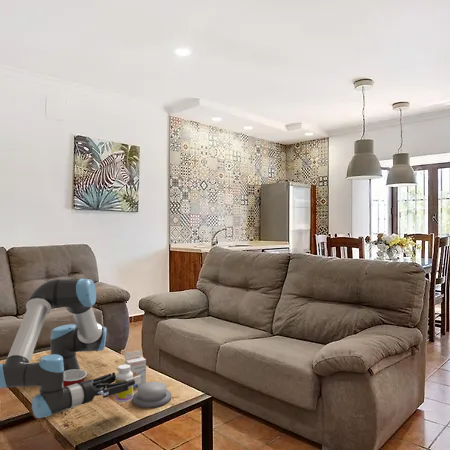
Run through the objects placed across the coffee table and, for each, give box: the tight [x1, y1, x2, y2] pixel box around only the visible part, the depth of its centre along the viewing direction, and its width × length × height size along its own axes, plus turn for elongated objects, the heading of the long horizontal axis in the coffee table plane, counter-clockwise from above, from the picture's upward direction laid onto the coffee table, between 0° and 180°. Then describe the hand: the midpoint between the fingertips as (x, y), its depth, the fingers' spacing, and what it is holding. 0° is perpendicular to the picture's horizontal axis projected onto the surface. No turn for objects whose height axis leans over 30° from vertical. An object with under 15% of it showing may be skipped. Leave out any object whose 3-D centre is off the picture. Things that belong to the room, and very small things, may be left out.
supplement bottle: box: [115, 363, 134, 403], centre depth 156 cm, size 7×7×13 cm
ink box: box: [124, 350, 147, 388], centre depth 183 cm, size 8×5×15 cm, turn 123°
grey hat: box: [132, 381, 172, 409], centre depth 168 cm, size 16×16×5 cm
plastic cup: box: [64, 369, 88, 387], centre depth 165 cm, size 11×11×12 cm
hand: (135, 376), depth 159 cm, fingers closed on supplement bottle, 7 cm apart
